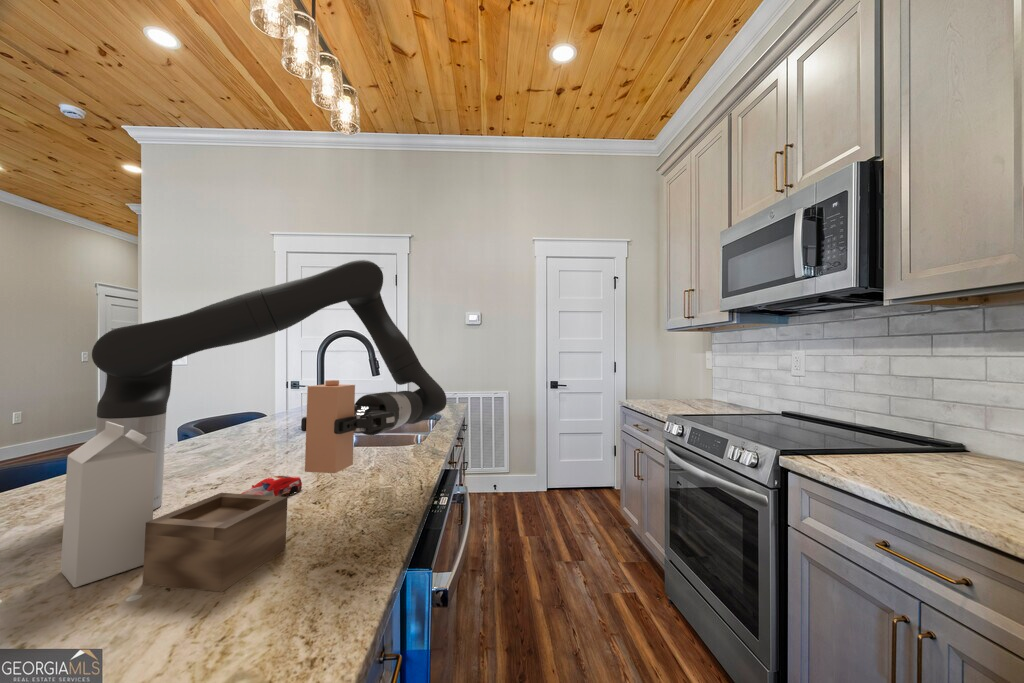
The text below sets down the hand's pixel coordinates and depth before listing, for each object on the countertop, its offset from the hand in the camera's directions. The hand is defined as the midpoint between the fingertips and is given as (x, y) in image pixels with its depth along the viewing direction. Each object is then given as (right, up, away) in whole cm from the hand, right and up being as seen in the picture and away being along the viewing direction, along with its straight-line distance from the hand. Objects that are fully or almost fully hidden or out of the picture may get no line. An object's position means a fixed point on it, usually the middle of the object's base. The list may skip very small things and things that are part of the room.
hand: (319, 425), depth 60 cm
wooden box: (-10, -17, -7) cm, 21 cm away
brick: (0, -7, +2) cm, 7 cm away
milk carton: (-25, -17, -8) cm, 31 cm away
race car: (-19, -19, +18) cm, 33 cm away
